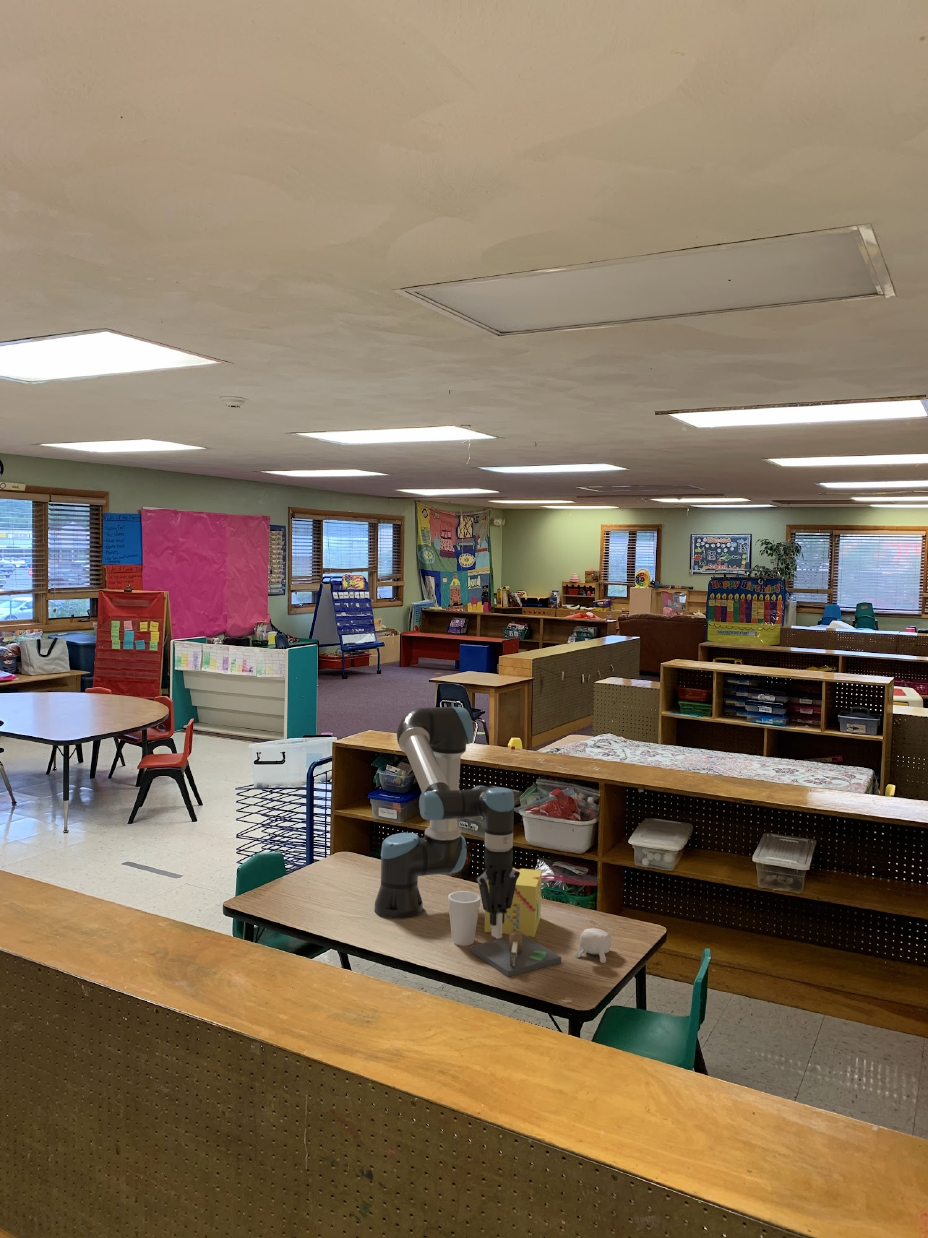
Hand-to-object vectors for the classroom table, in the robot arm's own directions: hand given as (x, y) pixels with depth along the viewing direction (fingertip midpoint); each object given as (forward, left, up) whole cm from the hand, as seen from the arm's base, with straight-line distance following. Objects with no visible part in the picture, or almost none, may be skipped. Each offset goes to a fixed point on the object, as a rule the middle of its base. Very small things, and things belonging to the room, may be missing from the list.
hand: (496, 936), depth 227 cm
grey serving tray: (-6, +11, -10) cm, 16 cm away
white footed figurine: (+4, +30, -11) cm, 32 cm away
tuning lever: (-3, +8, -9) cm, 12 cm away
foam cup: (-22, +4, -11) cm, 25 cm away
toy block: (-25, +24, -11) cm, 37 cm away
